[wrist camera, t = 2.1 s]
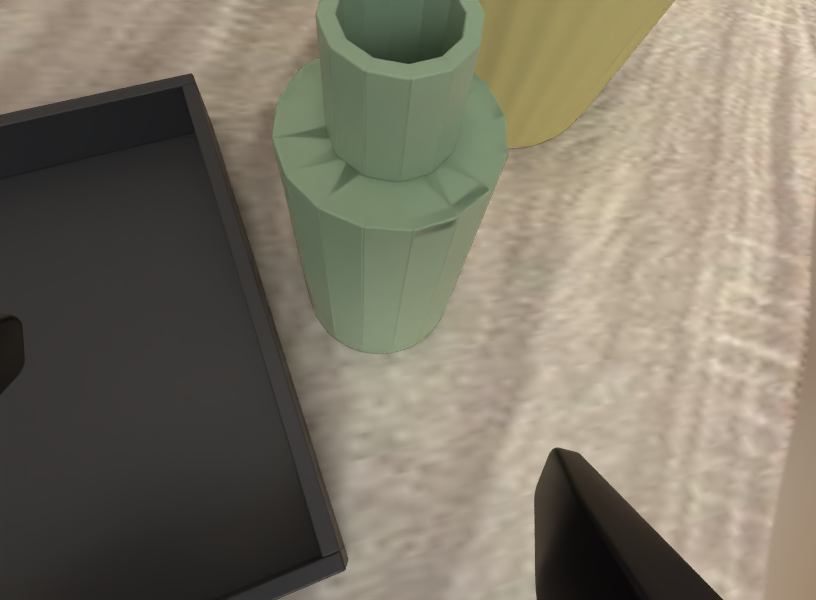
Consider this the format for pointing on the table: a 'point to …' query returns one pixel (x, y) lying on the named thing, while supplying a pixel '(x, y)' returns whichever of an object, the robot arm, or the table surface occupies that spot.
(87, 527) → the tray
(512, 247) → the table surface
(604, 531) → the robot arm
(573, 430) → the table surface
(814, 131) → the table surface
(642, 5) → the potted cactus
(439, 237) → the bottle
